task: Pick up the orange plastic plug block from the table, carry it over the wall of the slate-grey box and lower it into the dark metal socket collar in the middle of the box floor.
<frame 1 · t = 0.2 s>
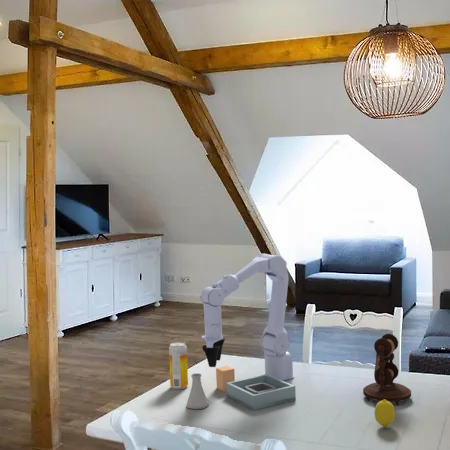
hand: (214, 363, 218), 10 cm above the table, tool pointing down, fingers open, 7 cm apart
brown tall knobby piece: (387, 398, 206), on the table
plug: (225, 388, 221), on the table
flask: (197, 406, 205), on the table
socket box: (260, 398, 210), on the table
beer can: (179, 387, 224), on the table
lemon: (385, 428, 183), on the table
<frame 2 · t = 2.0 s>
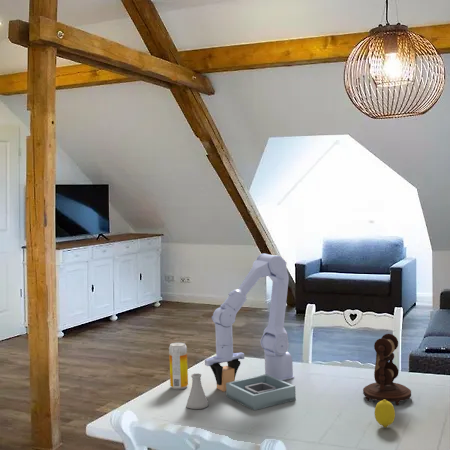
hand: (225, 383, 221), 2 cm above the table, tool pointing down, fingers closed on plug, 4 cm apart
plug: (225, 388, 221), on the table, touching gripper
everything else where it was.
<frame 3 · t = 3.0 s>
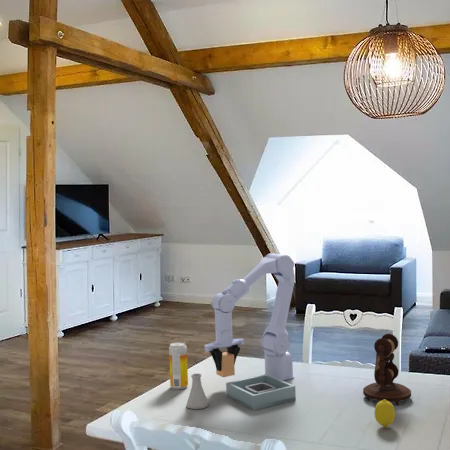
hand: (225, 368, 220), 7 cm above the table, tool pointing down, fingers closed on plug, 4 cm apart
plug: (225, 374, 221), point 5 cm above the table, touching gripper
everything else where it was.
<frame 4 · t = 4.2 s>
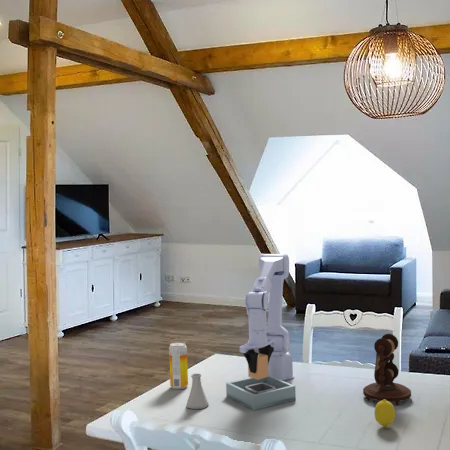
hand: (258, 370, 210), 9 cm above the table, tool pointing down, fingers closed on plug, 4 cm apart
plug: (258, 376, 210), point 7 cm above the table, touching gripper
everything else where it was.
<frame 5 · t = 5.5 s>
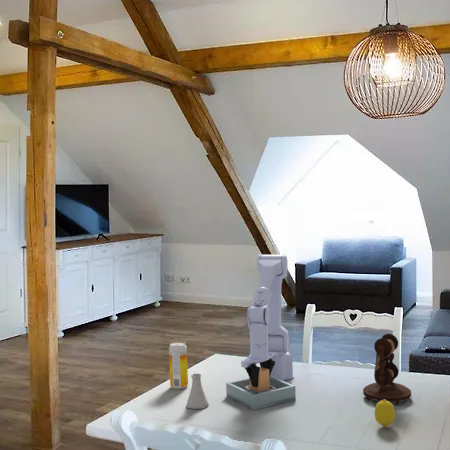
hand: (260, 384, 210), 4 cm above the table, tool pointing down, fingers closed on plug, 4 cm apart
plug: (259, 390, 210), point 2 cm above the table, touching gripper
everything else where it was.
when the fingers open (4 cm above the table, at t = 6.5 s): plug drops 1 cm, resting on socket box.
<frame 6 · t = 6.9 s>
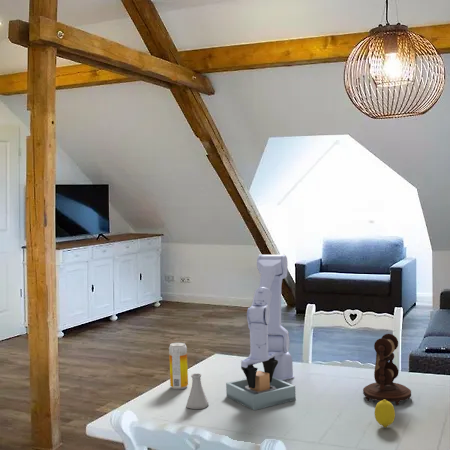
hand: (260, 384, 210), 4 cm above the table, tool pointing down, fingers open, 7 cm apart
plug: (260, 394, 210), point 1 cm above the table, touching socket box
everything else where it was.
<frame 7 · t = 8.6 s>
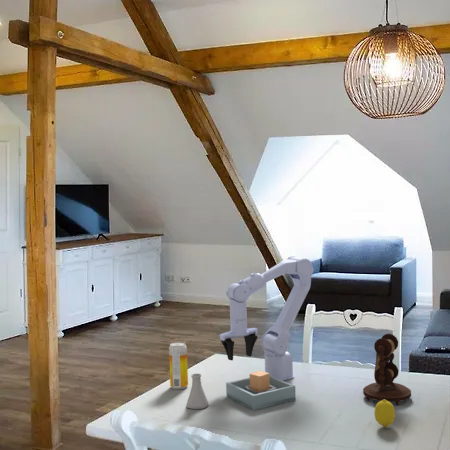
hand: (239, 357, 224), 9 cm above the table, tool pointing down, fingers open, 7 cm apart
nothing on the table moved.
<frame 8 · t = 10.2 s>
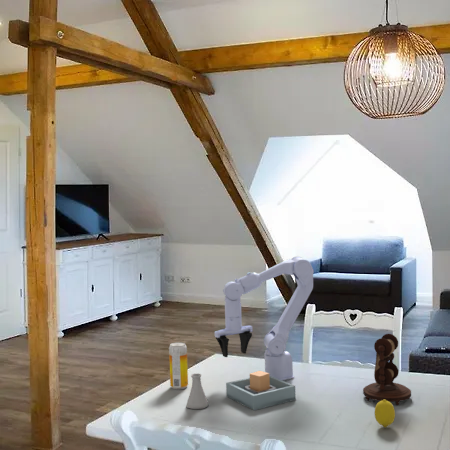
hand: (234, 354, 228), 9 cm above the table, tool pointing down, fingers open, 7 cm apart
nothing on the table moved.
at the end: plug 0.2 cm off-centre on the socket box, point 1.0 cm above the socket box's base; plug tilted 0°; the gripper is holding nothing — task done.
